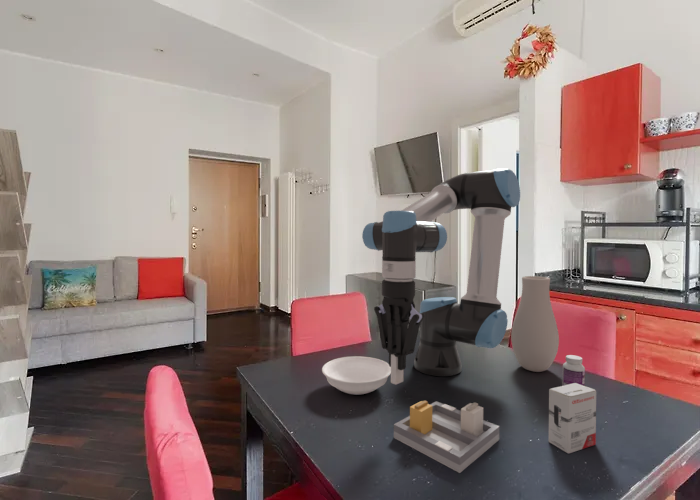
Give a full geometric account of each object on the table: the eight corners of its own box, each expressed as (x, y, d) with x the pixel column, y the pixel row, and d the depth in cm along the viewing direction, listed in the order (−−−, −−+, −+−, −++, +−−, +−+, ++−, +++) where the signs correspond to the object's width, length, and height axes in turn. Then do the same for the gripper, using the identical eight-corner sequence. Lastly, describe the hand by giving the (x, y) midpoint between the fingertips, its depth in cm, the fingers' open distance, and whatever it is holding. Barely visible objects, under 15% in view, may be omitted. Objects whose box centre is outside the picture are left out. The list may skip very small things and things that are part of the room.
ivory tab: (460, 433, 79) (460, 406, 78) (470, 426, 81) (470, 400, 81) (473, 439, 76) (473, 411, 76) (482, 432, 79) (483, 404, 79)
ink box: (574, 433, 82) (575, 381, 81) (596, 445, 77) (598, 390, 76) (546, 441, 78) (548, 387, 78) (568, 454, 74) (569, 397, 73)
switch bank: (393, 437, 80) (393, 423, 80) (435, 413, 91) (436, 400, 91) (459, 473, 68) (459, 456, 68) (499, 439, 79) (499, 425, 79)
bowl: (406, 389, 105) (406, 367, 104) (360, 414, 90) (360, 389, 90) (354, 371, 118) (354, 351, 118) (307, 390, 104) (307, 368, 103)
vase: (548, 362, 125) (551, 275, 124) (565, 378, 112) (567, 280, 110) (506, 360, 128) (507, 274, 126) (517, 375, 114) (519, 279, 113)
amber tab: (409, 431, 80) (409, 404, 79) (420, 424, 82) (421, 398, 82) (421, 436, 77) (421, 409, 77) (432, 429, 80) (432, 402, 80)
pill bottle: (587, 395, 100) (588, 361, 100) (566, 394, 101) (567, 359, 101) (579, 387, 105) (580, 354, 105) (559, 386, 106) (560, 353, 106)
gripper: (366, 277, 85) (365, 378, 86) (411, 283, 76) (409, 396, 77) (387, 275, 90) (386, 370, 91) (432, 280, 81) (430, 386, 82)
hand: (397, 382), depth 84 cm, fingers closed
